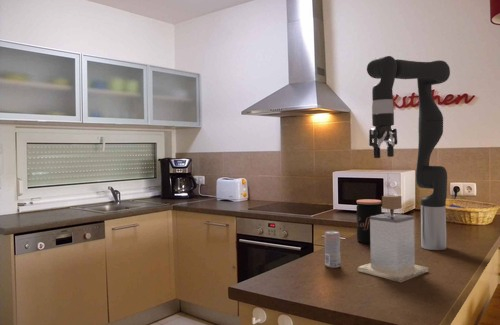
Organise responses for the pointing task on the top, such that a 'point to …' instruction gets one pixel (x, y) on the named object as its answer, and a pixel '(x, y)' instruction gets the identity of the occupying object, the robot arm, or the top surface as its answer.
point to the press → (392, 248)
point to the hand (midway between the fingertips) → (384, 157)
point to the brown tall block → (391, 203)
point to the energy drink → (332, 249)
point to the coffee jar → (366, 217)
